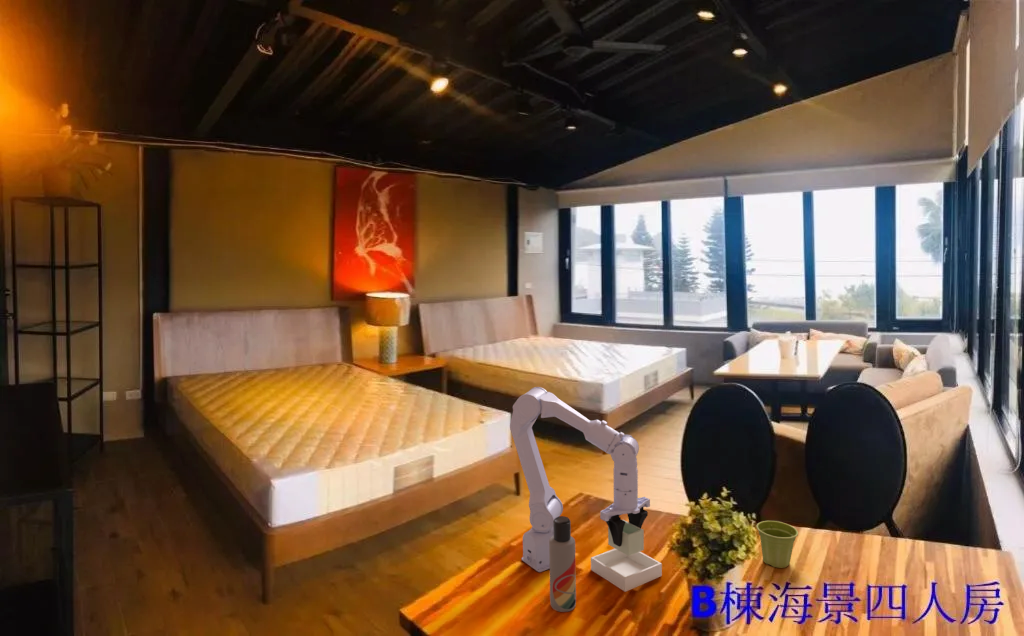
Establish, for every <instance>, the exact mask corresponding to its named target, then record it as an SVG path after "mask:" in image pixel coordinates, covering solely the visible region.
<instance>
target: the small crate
mask: <svg viewBox="0 0 1024 636" xmlns="http://www.w3.org/2000/svg"><path fill="white" fill-rule="evenodd" d="M622 520H623V521H625V525H624V528H623V533H622V545H621V546H620V547H619V546H617V545H615V544H614V543H613V539H612V535H611V532H610V529H609V527H608V526H607V530H608V533H607V534H608V535H607V536H608V537H607V538H608V539H607V540H608V541H607V543H608V545H609V546H610V547H612V548H613V549H617V550H619V551H621V552H623V553H624V554H626V555H628V556H630V555H632V554H635V553H637V552H642V551H644V550H645V548H644V547H645V545H644V544H645V540H644V539H645V536H644V535H645V534H644V533H645V530H644V529H643V528H642V527H641V528H639V527H637V526H635V525H633V524H631V523H629V521H628V520H627V521H626V520H625V519H622Z"/></svg>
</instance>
